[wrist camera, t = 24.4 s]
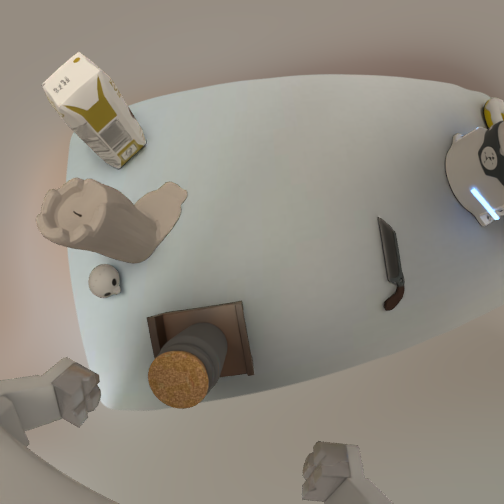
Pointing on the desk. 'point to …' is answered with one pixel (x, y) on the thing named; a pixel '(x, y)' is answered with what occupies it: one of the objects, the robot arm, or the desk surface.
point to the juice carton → (94, 110)
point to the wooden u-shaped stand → (220, 315)
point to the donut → (494, 111)
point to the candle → (109, 218)
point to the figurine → (104, 281)
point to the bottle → (188, 365)
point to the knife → (392, 263)
